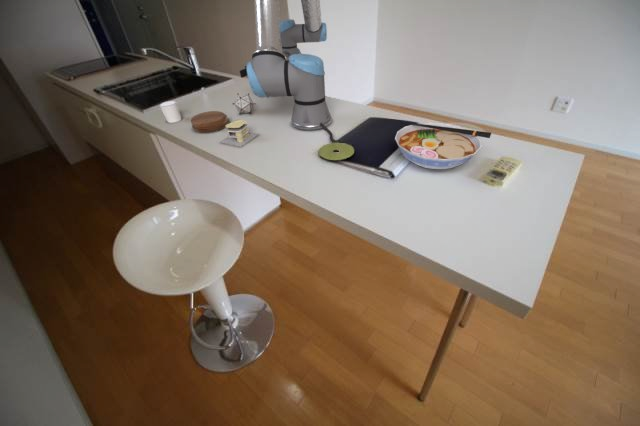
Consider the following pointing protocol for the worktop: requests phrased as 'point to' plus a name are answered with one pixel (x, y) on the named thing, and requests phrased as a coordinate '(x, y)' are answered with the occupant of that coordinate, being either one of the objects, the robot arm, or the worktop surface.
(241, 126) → the stacked layers on plate
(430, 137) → the ramen bowl
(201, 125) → the brown round disc
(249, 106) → the grey faceted polyhedron
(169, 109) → the white cup
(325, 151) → the green disc with hole
